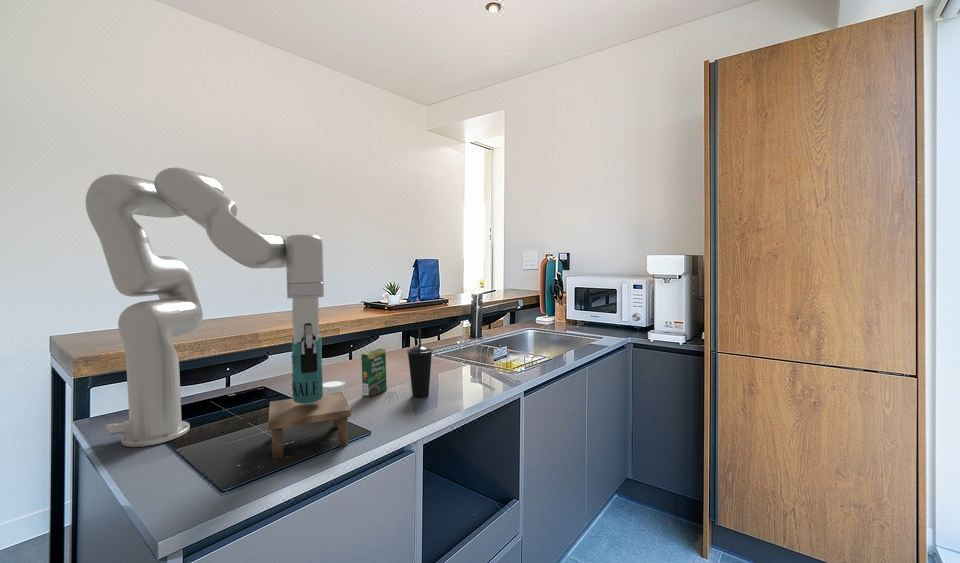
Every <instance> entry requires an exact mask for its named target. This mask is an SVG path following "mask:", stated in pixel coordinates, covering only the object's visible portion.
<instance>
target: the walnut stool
mask: <svg viewBox="0 0 960 563" xmlns="http://www.w3.org/2000/svg"><path fill="white" fill-rule="evenodd" d="M351 416H352V410H351V408H350V406H349V404H348V402H347V400H346V396H345V397H344V395H343V393H342V392H336V393H329V394H323V396H322V398H321V399H320V400H318V401H315V402H311V403H296V402H294V400H293V398H287V399H281V400H280V399H279V400H272V401H269V409H268V422H267V423H268V431H270V430H271V447H272V448H271V451H272V452H271V453H272V456H271V457H272V460H278V459H277V458H280V457H282V456H283V457H284V441H283V440H284V428H288V427H296V426H301V425H306V424H307V425H308V424H313V423H314V424H315V423H319V422H325V421H331V420H332V428H333V427H338V428H337V429H338V430H337V433H338V434H337V435H338V437H337V438H338V446H339V445H340V446H339V447H345V446H347V445H348V444H349V426H348V424H349V423H348V422H349V420H348V418H349V417H351ZM283 457H282V458H283ZM280 459H281V458H280Z"/></svg>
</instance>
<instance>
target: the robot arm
mask: <svg viewBox="0 0 960 563" xmlns="http://www.w3.org/2000/svg"><path fill="white" fill-rule="evenodd" d="M85 210H86V214H87V216H88V219H89V221H90V223H91V226H92V227H93V229H94V231H95V233H96V234H97V237H98V239H99V241H100V244H101V247H102V248H101V249H102V250H103V254H104V257H105V261H106V263H107V267H108V269H109V270H108V271H109V273H110V276H111V279H112V282H113V285H114V287H115V288H116V290H117V291H118V293H120V294H121V295H123V296H126V297H135V298H137V297H151V296H158V299H153V300H145V301H138V302H136V303H134V304H131V305H129V306H127V307H126V308H125V309H124V310H123V311H122V312H121V313H120V315H119V316H118V317H119V318H118V321H117V322H118V323H117V327H118V331H119V334H120V338H121V340H122V345H123V349H124V355H125V365H126V366H125V367H126V380H127V381H126V382H127V384H126V385H127V399H128V401H127V402H128V420H124V422H121V423H120V422H119V423H117V422H116V423H115V422H114V423H109V424H106V426H105V433H106V434H108V435H109V436H113V435H118V434H122V437H121V438H120V443H121V445H123V446H125V447H128V448H129V447H131V448H140V447H142V448H143V447H148V446H155V445H159V444H163V443H167V442H170V441H173V440H175V439H178V438H181V437H182V436H184V435H186V433H188V432H189V431H190V430H191V429H190V428H191V427H190V426H191V425H190V423H189V422H188V421H184V420H182V404H181V403H182V402H181V401H182V400H181V380H180V379H181V376H180V360H179V355H178V352H177V350H176V348H175V347H174V345H173V343H172V342H171V339H173V338H177V337H182V336H187V335H189V334H193V333H194V332H196V331H197V330H198V329H199V328H200V326H201V325H202V322H203V320H204V319H203V317H204V314H203V309H202V304H201V301H200V298H199V294H198V292H197V288H196V286H195V283H194V279H193V277H192V274H191V271H190V270H189V268H188V266H187V265H186V264H185V263H184V262H183V261H182V260H180V259H179V258H178V257H175V256H169V255H156V253H155V252H154V250H153V247H152V244H151V241H150V238H149V236H148V234H147V233H146V231H145V230H144V228H143V226H141V225H140V223H138V222H137V220H135V218H134V216H133V215H136V216H143V217H152V218H161V219H163V218H164V219H166V218H167V219H169V218H176V217H182V216H186V217H188V218H189V219H191V220H192V221H194V222H195V223H196V224H198V225H199V226H200V227H201V228H203V229H204V230H205V232H206V235H207V237H208V239H209V240H210V243H212V245H214V247H215V248H217V249H218V251H220V252H222V253H223V254H225V255H226V256H227V257H229V258H231V259H232V260H233V261H234V262H237V263H238V264H240V265H242V266H244V267H247V268H250V269H283V268H285V270H286V271H285V272H286V294H287V295H286V296H287V297H286V298H287V299H292V304H291V306H292V308H291V309H292V310H291V314H292V318H291V319H292V337H293V340H294V343H295V344H297V342H301V347H302V354H301V372H302V373H309V372H316V371H317V353H316V345H315V343H316V342H317V341H318V334H320V333H319V332H320V327H319V326H320V323H319V322H320V316H319V315H320V314H319V313H320V312H319V311H320V308H319V306H320V304H319V298H324V297H325V288H324V287H325V286H324V283H325V282H324V255H323V254H324V252H323V251H324V250H323V248H324V247H323V240H322V238H321V237H320V236H318V235H317V234H316V235H314V234H291V235H288V236H285V235H280V234H273V233H264V232H257V231H255V230H253V229H252V228H251V227H249V226H248V225H246V224H244V223H243V222H241V221H240V220H239V219H238V218H236V216H237V214H238V206H237V204H236V202H235V201H234V200H233V199H231V198H229V197H228V196H226V195H225V194H224V189H223V187H222V185H221V184H220V182H219V181H218V180H217V179H215V178H214V177H212V176H210V175H207V174H205V173H204V174H203V173H201V172H197V171H194V170H189V169H187V168H183V167H169V168H165V169H162V170H161V171H160V172H158V173H157V175H156V176H155V178H154V180H151V179H146V178H141V177H138V176H133V175H128V174H119V173H118V174H114V173H112V174H104V175H102V176H99V177H98V178H96V179H94V180H93V182H92V183H91V184H90V185H89V188H88V189H87V192H86V194H85ZM304 326H305V328H304ZM304 331H305V332H304ZM315 336H316V339H315ZM304 339H306V340H304ZM304 348H305V349H304Z"/></svg>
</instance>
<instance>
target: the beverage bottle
mask: <svg viewBox="0 0 960 563" xmlns="http://www.w3.org/2000/svg"><path fill="white" fill-rule="evenodd" d="M304 328H305V326H304ZM304 332H305V331H304ZM322 338H323V336H322V335H321V334H320V333H319V334H318V341H317V342H316V343H315V345H316V353H317V371H316V372H309V373H302V372H301V354H302V347H301V342H297V344H295V343H294V340H293V336H292V338H291V346H292V347H291V349H290V350H291V355H290V356H291V365H292V366H291V367H292V369H291V371H292V373H291V377H292V378H291V379H292V380H291V382H292V384H291V386H292V388H291V389H292V399H293V400H294V402H296V403H311V402H315V401H318V400H320V399H321V398H322V396H323V387H322V385H323V384H322V383H324V381H323V377H324V376H323V358H322V357H323V356H322V354H323V352H322V348H323V347H322V345H323V344H322V343H323V342H322ZM315 339H316V336H315ZM304 340H306V339H304ZM304 349H305V348H304Z"/></svg>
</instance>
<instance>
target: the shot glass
mask: <svg viewBox="0 0 960 563" xmlns="http://www.w3.org/2000/svg"><path fill="white" fill-rule="evenodd" d="M322 384H323V385H322V387H323V394H329V393H336V392H342V393H343V395H344V397H345V398H346V382H345V381H343V380H329V381H323V382H322Z"/></svg>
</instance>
